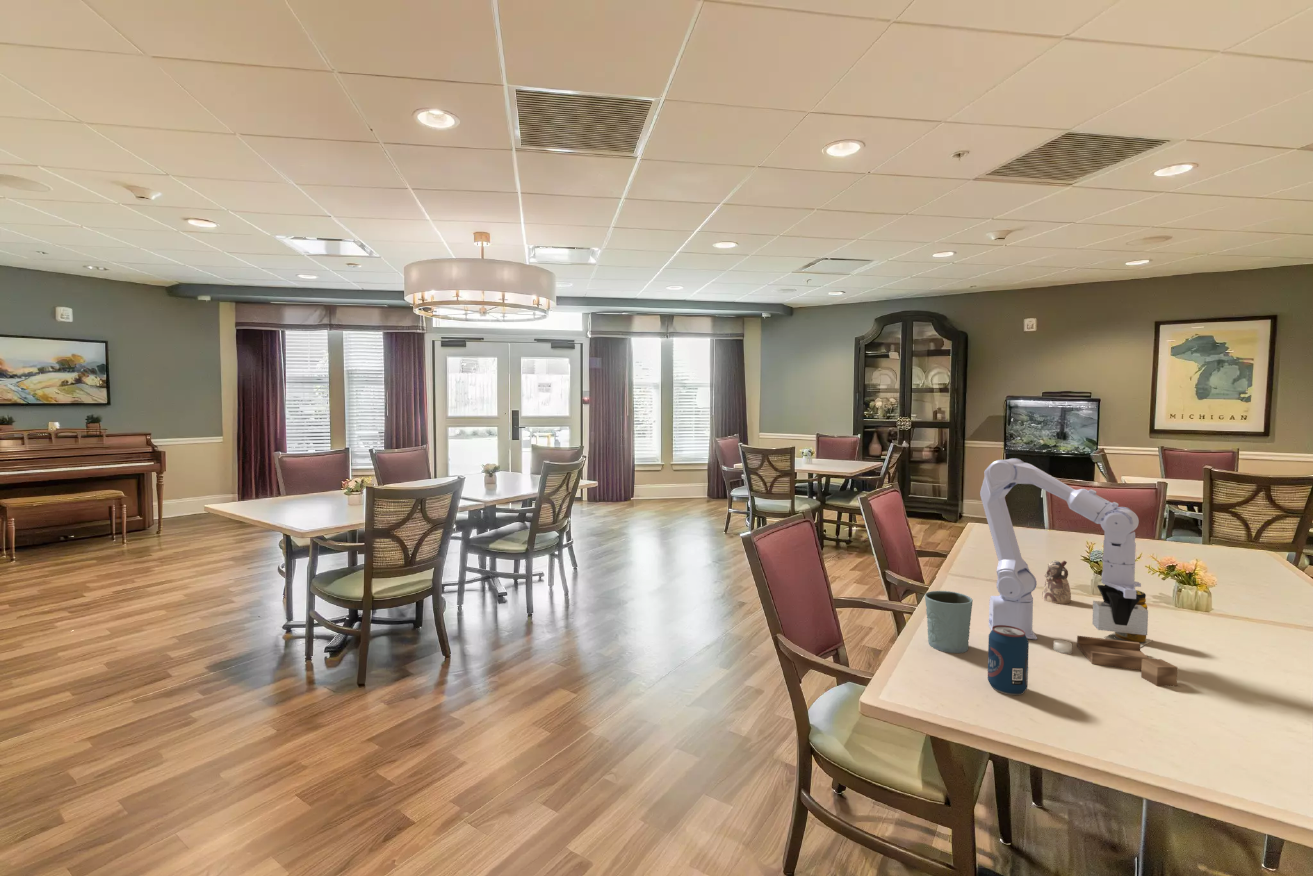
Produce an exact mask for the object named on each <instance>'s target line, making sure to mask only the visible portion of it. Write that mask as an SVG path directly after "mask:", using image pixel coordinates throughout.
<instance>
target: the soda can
mask: <svg viewBox="0 0 1313 876" xmlns="http://www.w3.org/2000/svg"><path fill="white" fill-rule="evenodd" d="M987 647H988V650H987V652H988V654H987V682H988V683H989V685H990V686H991V688H992V689H993V690H995V691H997V692H998V693H1002V694H1003V695H1004V694H1005V695H1009V696H1020V695H1021V696H1022V695H1023V693H1024V692H1026V690H1027V688H1028V683H1029V681H1028V679H1029V675H1028V674H1029V640H1028V639H1027V638H1026V636H1025V632H1024V631H1023V630H1021V629H1019V628H1016V627H1012V626H1006V625H996V626H993V627H992V630H990V632H989V634H988V646H987Z"/></svg>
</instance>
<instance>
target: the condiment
mask: <svg viewBox="0 0 1313 876" xmlns="http://www.w3.org/2000/svg"><path fill="white" fill-rule="evenodd" d="M1135 590H1136V589H1135ZM1136 596H1138V597H1140V600H1139V602H1138V603H1137V604H1136V605H1141V606H1142V607H1144V608H1145V609H1147V610H1148V605H1147V603H1146V601H1147V599H1146V597H1147V595H1146V593H1145V592H1143V591H1141V590H1139V589H1138V590H1136ZM1103 639H1112V640H1121V641H1130V642H1139V643H1140V648H1142V647H1144V646H1146V645H1148V644H1149V643H1151V642H1153V639H1150V638H1147V635H1140V634H1131V633H1122V632H1113V633H1111V634H1108V635H1106V636H1104V637H1103Z"/></svg>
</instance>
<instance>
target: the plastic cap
mask: <svg viewBox="0 0 1313 876" xmlns="http://www.w3.org/2000/svg"><path fill="white" fill-rule="evenodd" d="M1052 647H1053V648H1052V649H1053V650H1054V651H1055V652H1057V653H1061V654H1065V655H1066V654H1067V655H1070V654H1072V653H1073V644H1072V642H1070V641H1066V640H1062V639H1054V640H1053V646H1052Z"/></svg>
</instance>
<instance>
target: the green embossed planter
mask: <svg viewBox="0 0 1313 876" xmlns="http://www.w3.org/2000/svg"><path fill="white" fill-rule="evenodd" d="M924 598H925V599H924V602H925V607H926V609H925V612H926V618H927V619H926V621H927V639H928V640H927V641H928V645H929V647H930V648H932V647H933V648H932V649H935V650H938V651H939V652H940V651H941V652H943V653H944V652H945V653H948V654H949V653H950V654H962V653H966V652H967V651H968V649H969V640H970V633H971V632H970V629H971V628H970V626H971V620H972V619H971V616H972V610H973V600H974V599H972V598H971V596H969V595H967V594H963V593H960V592H955V591H951V590H950V591H949V590H948V591H947V590H931V591H927V592H926V593H924Z"/></svg>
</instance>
